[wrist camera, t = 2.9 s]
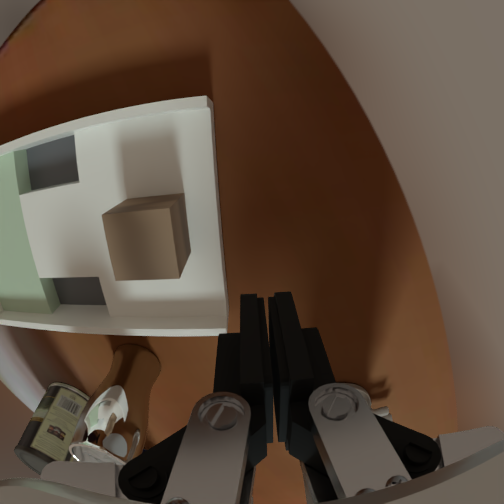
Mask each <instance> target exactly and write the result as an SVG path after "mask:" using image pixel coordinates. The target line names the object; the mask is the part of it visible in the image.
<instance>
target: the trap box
mask: <svg viewBox="0 0 504 504" xmlns="http://www.w3.org/2000/svg"><path fill="white" fill-rule="evenodd" d="M180 193H184V194H185V204H186V213H187V222H188V230H189V239H190V247H191V253H190V256H189V258H188V260H187V263H186V265H185V267H184V270H183V272H182V274H181V277H180V279H161V280H129V281H115V277H114V273H113V268H112V264H111V260H110V255H109V251H108V246H107V241H106V236H105V231H104V226H103V221H102V214H104V213H105V212H107V211H108V210H110V209H112V208H113V207H115V206H116V205H118V204H120V203H121V202H123V201H124V200H126V199H131V198H140V197H149V196H159V195H169V194H180ZM228 315H229V303H228V293H227V283H226V272H225V261H224V250H223V239H222V227H221V214H220V202H219V188H218V174H217V160H216V144H215V128H214V110H213V102H212V101H211V100H210V99H209V98H208V97H207V96H197V97H188V98H180V99H173V100H166V101H160V102H154V103H148V104H142V105H137V106H131V107H126V108H122V109H117V110H112V111H108V112H104V113H100V114H95V115H92V116H88V117H84V118H80V119H76V120H73V121H69V122H66V123H63V124H59V125H56V126H53V127H50V128H47V129H44V130H41V131H38V132H35V133H32V134H29V135H27V136H24V137H21V138H18V139H16V140H13V141H11V142H8V143H6V144H3V145H1V146H0V324H1V325H8V326H16V327H24V328H32V329H41V330H51V331H62V332H75V333H89V334H107V335H131V336H219V334H221V333H227V328H228Z"/></svg>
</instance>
